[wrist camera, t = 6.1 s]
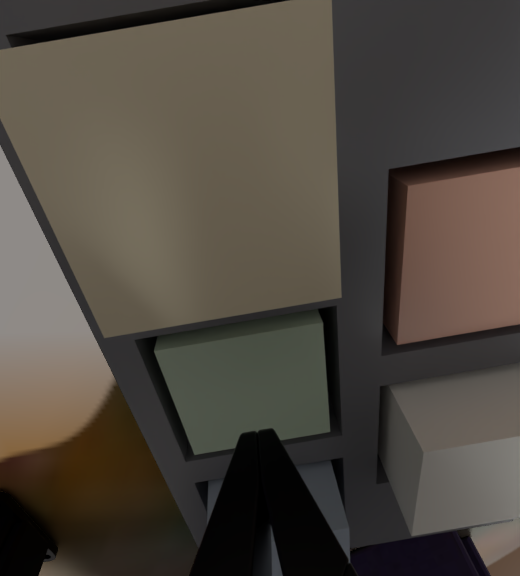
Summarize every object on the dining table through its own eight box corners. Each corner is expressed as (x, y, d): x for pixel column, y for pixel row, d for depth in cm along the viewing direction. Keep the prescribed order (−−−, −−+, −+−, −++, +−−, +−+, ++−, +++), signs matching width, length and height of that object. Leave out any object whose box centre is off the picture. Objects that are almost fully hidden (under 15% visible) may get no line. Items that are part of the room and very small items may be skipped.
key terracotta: (361, 288, 12) (397, 344, 10) (361, 157, 10) (408, 186, 8) (487, 267, 12) (555, 317, 10) (515, 131, 10) (613, 151, 8)
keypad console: (212, 483, 19) (210, 572, 16) (23, -21, 8) (-113, -83, 5) (563, 424, 19) (636, 499, 16) (822, -158, 8) (1228, -313, 5)
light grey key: (377, 452, 14) (411, 536, 12) (380, 370, 12) (423, 452, 9) (488, 433, 14) (547, 513, 12) (512, 347, 12) (592, 423, 9)
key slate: (230, 521, 16) (232, 608, 13) (209, 461, 14) (205, 552, 11) (330, 504, 16) (351, 588, 13) (325, 441, 14) (348, 527, 11)
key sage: (199, 385, 14) (194, 455, 12) (168, 291, 12) (154, 351, 9) (310, 366, 14) (330, 432, 12) (301, 268, 12) (322, 322, 9)
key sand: (137, 263, 9) (104, 337, 7) (64, 61, 7) (-30, 54, 4) (308, 234, 9) (341, 297, 7) (291, 23, 7) (331, -7, 4)
